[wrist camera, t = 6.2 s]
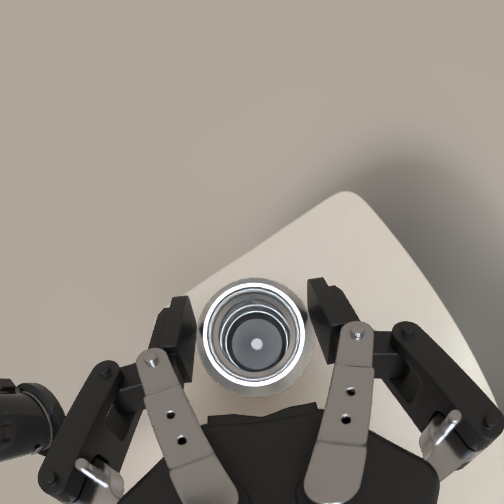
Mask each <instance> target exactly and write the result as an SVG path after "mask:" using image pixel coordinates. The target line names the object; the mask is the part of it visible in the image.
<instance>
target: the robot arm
mask: <svg viewBox="0 0 504 504" xmlns="http://www.w3.org/2000/svg"><path fill="white" fill-rule="evenodd" d="M307 304H308V313H309V317H310V320H311V322H312V325H313V328H314V330H315V333H316V336H317V338H318V341H319V344H320V346H321V349H322V352H323V354H324V357H325V360H326V362H327V365H328V364H333V363H335V364H334V369H333V374H332V378H331V383H330V388H329V392H328V397H327V401H326V406H325V409H318V408H317V405H316V402H313V403H308V404H303V405H298V406H292V407H288V408H285V409H283V410H280V411H278V412H275V413H272V414H269V415H267V416H263V417H257V416H246V415H237V414H229V415H216V416H208V423H207V424H203V425H201V424H200V423H199V421H198V419H197V417H196V415H195V413H194V411H193V409H192V407H191V405H190V403H189V401H188V399H187V397H186V394H185V392H184V390H183V389H184V383H189V382H192V373H193V363H194V353H195V344H196V335H197V326H196V320H195V317H194V313H193V310H192V306H191V303H190V299H189V297H188V296H179V297H173V298H172V301H171V305H170V308H164V309H163V310H162V311H161V312H160V313H159V314H158V317H157V320H156V324H155V327H154V330H153V333H152V337H151V341H150V344H149V348H148V349H147V350H145V351H143V352H142V353H141V354H140V355H139V356H138V358H137V360H136V363H134V364H131V365H127V366H124V367H119V365H118V364H117V363H116V362H114V361H111V360H107V361H103V362H101V363H99V364H97V365H96V366H95V367H94V368H93V370H92V372H91V373H90V375H89V377H88V378H87V380H86V382H85V383H84V385H83V387H82V389H81V390H80V392H79V394H78V396H77V397H76V399H75V401H74V403H73V405H72V407H71V409H70V410H69V412H68V414H67V416H66V418H65V419H64V421H63V423H62V425H61V427H60V429H59V431H58V433H57V435H56V437H55V430H54V425H53V421H52V418H51V416H50V414H49V412H48V410H47V408H46V406H45V405H44V404H43V402H42V401H41V400H40V399H39V398H38V397H37V396H36V395H35V394H33V393H31V392H28V391H24V390H23V389H22V388H16V386H15V385H14V383H13V382H12V381H11V380H10V379H0V462H3V461H6V460H10V459H14V458H17V457H21V456H25V455H28V454H31V453H32V455H33V454H36V453H37V452H38V451H42V450H46V449H49V448H50V449H49V451H48V453H47V455H46V457H45V459H44V461H43V464H42V466H41V468H40V470H39V473H38V483H39V486H40V487H41V489H42V490H43V491H44V492H45V493H47V494H49V495H51V496H52V497H54V498H56V499H57V500H58V501H60V502H62V503H64V504H437V500H438V495H439V490H440V482H441V481H442V480H443V479H445V478H446V477H447V476H449V475H450V474H451V473H453V472H454V471H457V470H460V469H462V468H463V467H465V466H466V465H467V464H468V463H470V462H471V461H472V460H473V459H474V458H476V457H477V456H478V455H479V454H480V453H481V452H482V451H483V450H485V449H486V448H487V447H488V446H489V445H490V444H491V443H492V442H493V441H494V440H495V439H496V438H497V437H498V436H499V435H500V434H501V433H502V431H503V429H504V416H503V414H502V413H501V411H500V410H499V409H498V408H497V407H496V406H495V404H494V403H493V402H492V401H491V400H490V399H489V398H488V397H487V395H486V394H485V393H484V392H483V391H482V390H481V389H480V388H479V387H478V386H477V385H476V383H475V382H474V381H473V380H472V379H471V378H470V377H469V376H468V375H467V374H466V373H465V372H464V371H463V370H462V369H461V368H460V367H459V366H458V365H457V363H456V362H455V361H454V360H453V359H452V358H451V357H450V356H449V355H448V354H447V353H446V352H445V351H444V350H443V349H442V348H441V347H440V346H439V345H438V344H437V343H436V342H435V341H434V340H433V339H432V338H431V337H430V336H429V335H428V334H426V333H425V332H424V331H423V330H422V329H421V328H420V327H419V326H418V325H417V324H415V323H412V322H408V321H403V322H399V323H397V324H396V325H394V327H393V329H392V331H374V330H373V329H372V327H371V326H370V325H369V324H367V323H365V322H361V321H360V320H359V318H358V316H357V314H356V313H355V311H354V309H353V308H352V306H351V304H349V301H348V299H347V298H346V296H345V294H344V293H343V291H342V290H341V289H339V288H338V287H336V286H335V285H334V286H328V285H327V283H326V281H325V280H324V278H323V277H321V278H314V279H308V281H307ZM374 378H381V379H382V380H383V382H384V383H385V384H386V386H387V387H388V388H389V390H390V391H391V392H392V394H393V395H394V396H395V398H396V399H397V400H398V402H399V403H400V404H401V406H402V407H403V408H404V410H405V411H406V413H407V414H408V415H409V417H410V418H411V419H412V421H413V422H414V424H415V425H416V426H417V428H418V429H419V430H420V432H421V433H422V434H421V436H420V438H419V445H420V448H421V452H422V453H423V458H421V457H419V456H417V455H415V454H413V453H411V452H409V451H407V450H405V449H403V448H402V447H400V446H398V445H396V444H394V443H392V442H391V441H389V440H387V439H385V438H383V437H382V436H380V435H378V434H376V433H375V432H373V431H371V430H369V423H370V414H371V405H372V395H373V383H374ZM111 405H112V406H111ZM144 409H147V412H148V415H149V418H150V421H151V424H152V427H153V430H154V433H155V435H156V438H157V441H158V443H159V446H160V448H161V451H162V453H163V456H164V457H163V458H162V459H161V460H160V461H159V462H158V463H157V464H156V465H155V466H154V467H153V468H152V469H151V470H150V471H149V472H148V473H147V474H146V475H145V476H144V477H143V478H142V479H141V480H140V481H138V482H137V483H136V485H134V486H133V487H132V488H131V489H130V490H129V491H128V492H127V493H126V494H125V495H123V492H124V482H123V478H122V476H121V475H120V474H119V473H120V470H121V467H122V464H123V461H124V459H125V456H126V453H127V451H128V448H129V445H130V442H131V440H132V437H133V435H134V432H135V429H136V427H137V424H138V421H139V419H140V416H141V414H142V411H143V410H144ZM108 412H109V413H108ZM107 414H108V415H107ZM106 416H107V417H106Z"/></svg>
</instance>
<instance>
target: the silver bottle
mask: <svg viewBox="0 0 504 504" xmlns="http://www.w3.org/2000/svg"><path fill="white" fill-rule="evenodd" d="M314 337H315V333H314V328H313V325H312V322H311V320H310V317H309V313H308V309H307V308H306V306H305V305H304V303H303V301H302V300H301V299H300V298H299V297H298V296H297V295H296V294H295V293H294V292H293V291H292V290H290V289H289V288H288V287H286V286H285V285H282V284H280V283H278V282H276V281H273V280H269V279H265V278H247V279H241V280H238V281H235V282H232V283H230V284H228V285H227V286H225V287H223V288H221V289H220V290H219V291H218V292H217V293H216V294H215V295H213V296H212V298H211V299H210V300H209V302H208V303H207V304H206V305H205V307H204V309H203V311H202V313H201V315H200V319H199V322H198V326H197V335H196V342H197V350H198V354H199V357H200V360H201V363H202V364H203V366H204V368H205V370H206V372H207V373H208V374H209V375H210V377H211V378H212V379H213V380H214V381H215V382H216V383H217V384H218V385H220V386H221V387H222V388H224V389H225V390H227V391H229V392H231V393H233V394H236V395H239V396H243V397H250V398H261V397H268V396H272V395H275V394H277V393H280V392H282V391H284V390H285V389H287V388H289V387H290V386H292V385H293V384H294V383H295V382H296V381H297V380H298V379H299V378H300V377H301V376H302V374H303V373H304V371H305V370H306V368H307V366H308V364H309V362H310V360H311V357H312V353H313V349H314Z"/></svg>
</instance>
